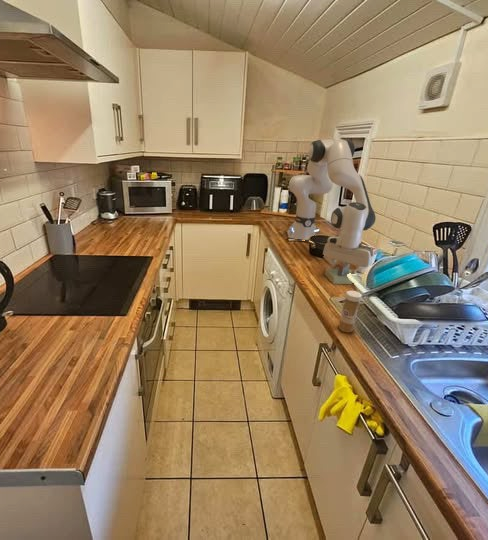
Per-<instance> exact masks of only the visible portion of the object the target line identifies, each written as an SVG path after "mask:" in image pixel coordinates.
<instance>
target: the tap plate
mask: <svg viewBox="0 0 488 540" xmlns="http://www.w3.org/2000/svg"><path fill="white" fill-rule="evenodd" d="M338 269H339V267H336V268H335V269H334V268H325V271H324V276H325V277H326V278H327V279H328V281H330V282H331V283H332V284H333V285H353V284H352V283H351V282H350V281H349V279H348V277H347V274H349V273H351V272H352V270H353V269H352V268H349V271H348V272H347V273H345V274H344V275H343V276H339V275H337V274H338ZM351 274H352V273H351Z"/></svg>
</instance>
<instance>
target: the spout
mask: <svg viewBox="0 0 488 540" xmlns="http://www.w3.org/2000/svg"><path fill="white" fill-rule="evenodd" d="M350 266H351V264H350V263H346V262H345V263H344V264H340V265H339V266H338V268H339V269H338V274H337V275H339V276H343V275H344V274H345V273H347V272H348V271H349V269H350Z"/></svg>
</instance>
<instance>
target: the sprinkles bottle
mask: <svg viewBox="0 0 488 540" xmlns="http://www.w3.org/2000/svg"><path fill="white" fill-rule="evenodd" d="M362 295H363V294H362V293H360V292H359V291H356V290H347V291H346V293H345V296H344V297H345V299H344V303H343V307H342V310H341V315H340V321H339V324H338V329H339V330H340V331H341V332H343V333H352V332H353V331H354V326H355V322H356V319H357V315H358V311H359V306H360V302H361V301H362V298H363V296H362Z"/></svg>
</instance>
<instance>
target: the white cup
mask: <svg viewBox="0 0 488 540" xmlns="http://www.w3.org/2000/svg"><path fill="white" fill-rule="evenodd" d="M377 255H378V253H377V252H376V251H375V250H374V254H373V256H372V261H371V265H372V264H373V263H374V264H375V263H376V262H375V261H376V258H377ZM371 265H370V266H371ZM370 266H369V267H370ZM369 267H367V268H365V267H361V266H360V268H359V269H358V270H357V271H356V273H360V274H364V272H365V271H366V270H367V269H368V268H369ZM356 268H357V267H356V266H355V269H356Z"/></svg>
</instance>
